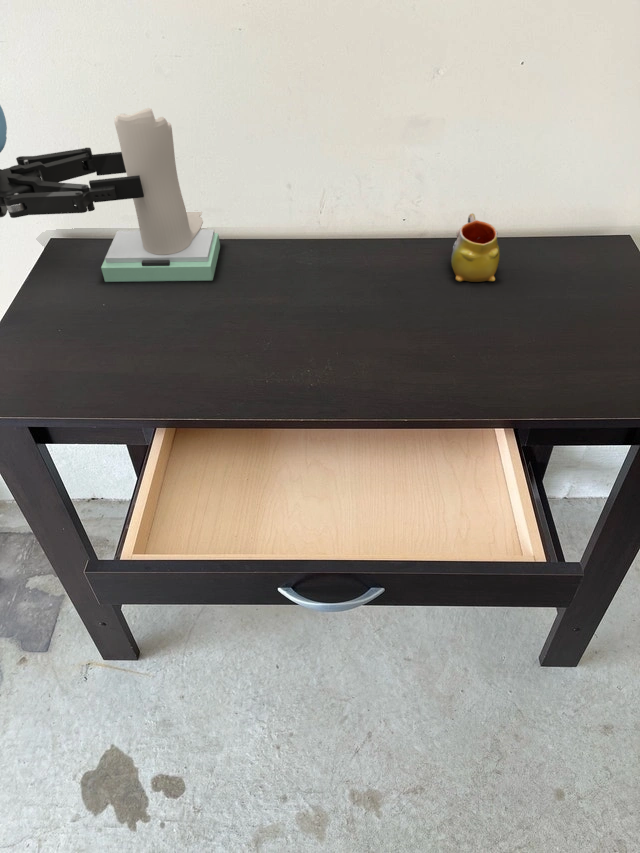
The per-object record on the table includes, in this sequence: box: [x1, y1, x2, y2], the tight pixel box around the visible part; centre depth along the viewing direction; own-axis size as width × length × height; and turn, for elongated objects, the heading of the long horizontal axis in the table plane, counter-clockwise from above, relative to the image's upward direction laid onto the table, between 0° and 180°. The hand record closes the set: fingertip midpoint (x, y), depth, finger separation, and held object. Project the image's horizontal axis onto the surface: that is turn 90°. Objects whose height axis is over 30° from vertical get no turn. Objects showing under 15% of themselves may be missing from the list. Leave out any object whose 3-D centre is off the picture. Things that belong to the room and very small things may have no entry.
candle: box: [114, 107, 204, 255], centre depth 94 cm, size 7×14×20 cm, turn 167°
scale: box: [100, 228, 221, 283], centre depth 99 cm, size 16×10×3 cm, turn 89°
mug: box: [450, 212, 501, 283], centre depth 96 cm, size 12×7×7 cm, turn 174°
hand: (141, 173), depth 91 cm, fingers open, 8 cm apart
